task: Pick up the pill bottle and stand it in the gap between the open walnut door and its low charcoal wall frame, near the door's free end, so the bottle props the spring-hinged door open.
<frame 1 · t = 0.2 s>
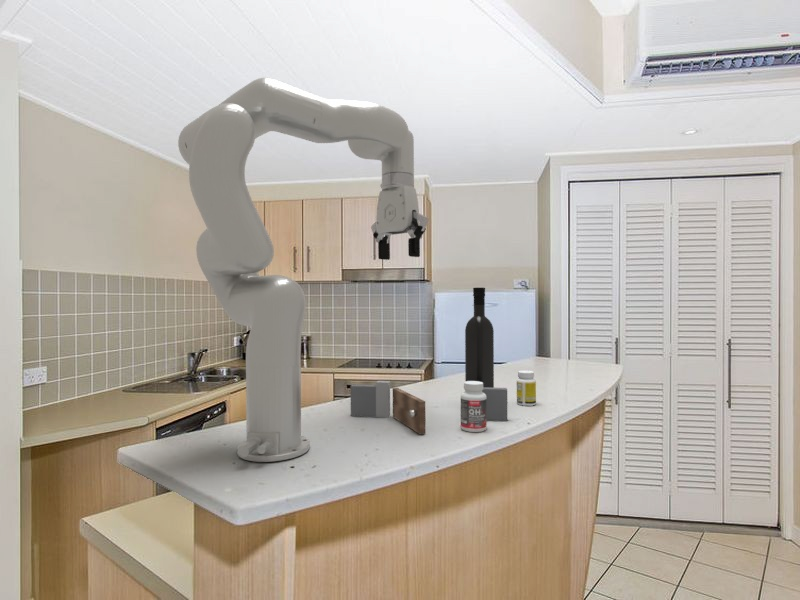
hand: (398, 258, 106), 37 cm above the table, tool pointing down, fingers open, 9 cm apart
door frame: (428, 417, 104), on the table
pill bottle: (473, 430, 95), on the table
wine bottle: (479, 407, 114), on the table
door: (405, 409, 97), point 3 cm above the table, hinge at 60.0°
supplement bottle: (526, 404, 117), on the table
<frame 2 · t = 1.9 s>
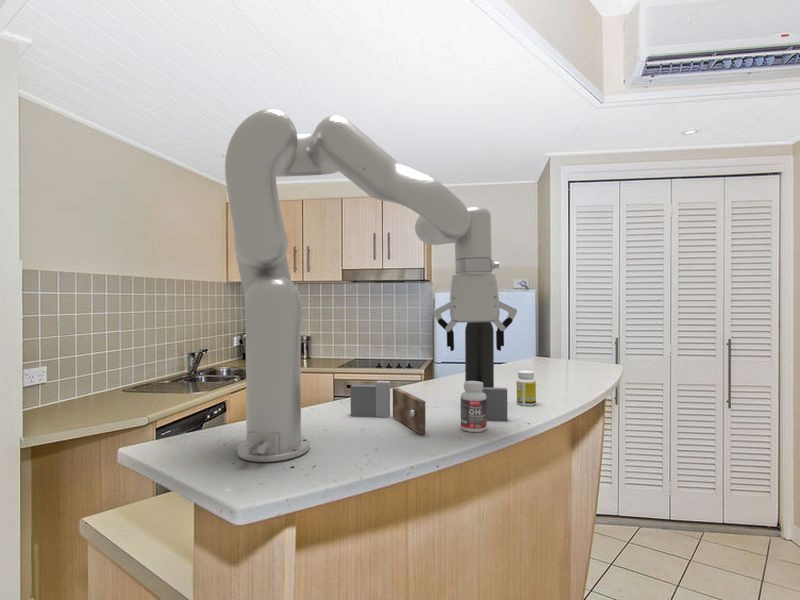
hand: (475, 349, 95), 17 cm above the table, tool pointing down, fingers open, 9 cm apart
nothing on the table moved.
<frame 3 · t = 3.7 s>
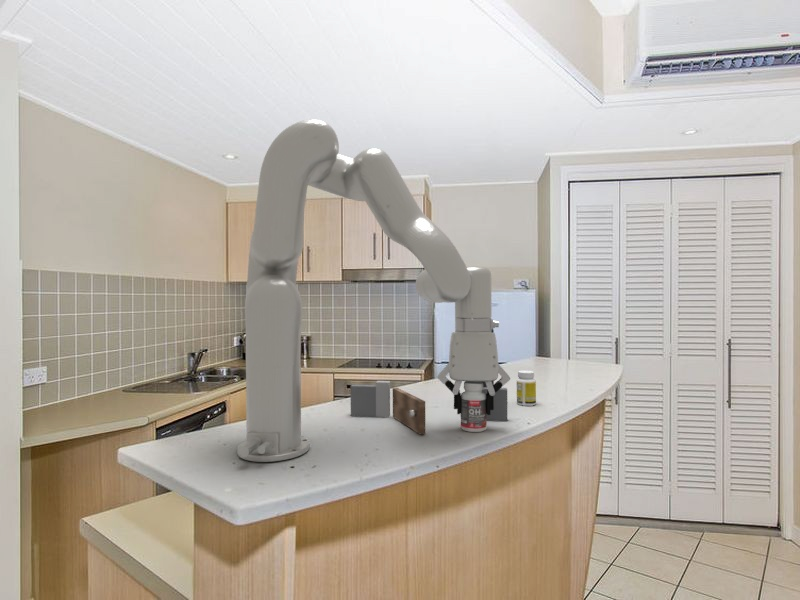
hand: (473, 412, 95), 4 cm above the table, tool pointing down, fingers closed on pill bottle, 5 cm apart
pill bottle: (473, 429, 95), on the table, touching gripper
everything else where it was.
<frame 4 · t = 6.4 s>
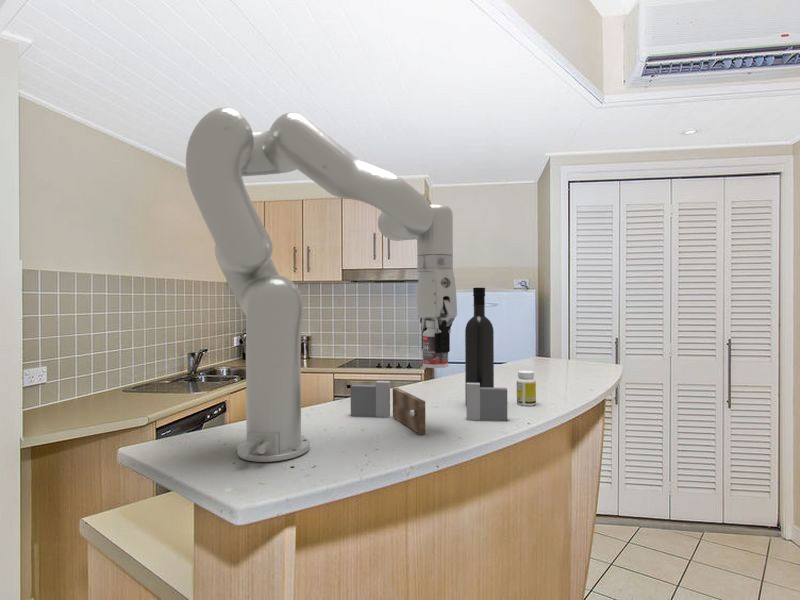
hand: (435, 350, 96), 16 cm above the table, tool pointing down, fingers closed on pill bottle, 5 cm apart
pill bottle: (435, 367, 96), point 13 cm above the table, touching gripper
everything else where it was.
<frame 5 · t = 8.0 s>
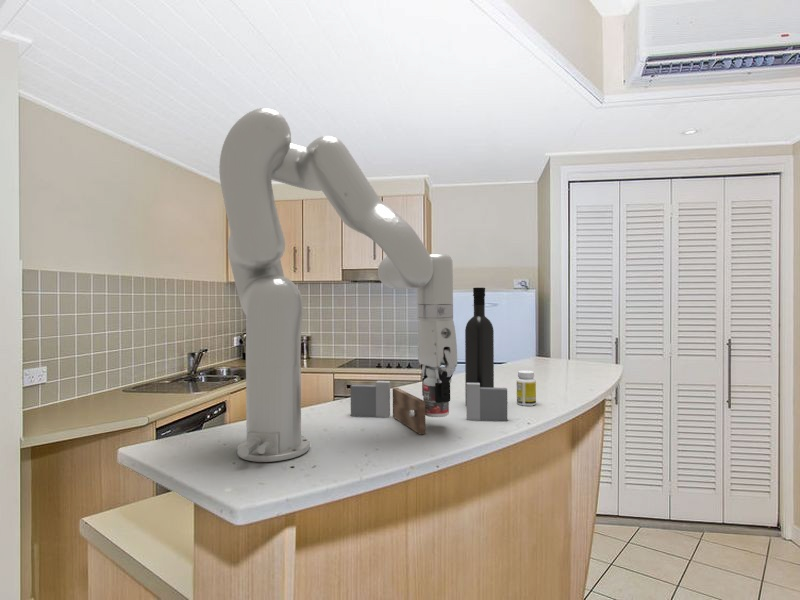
hand: (436, 398, 96), 6 cm above the table, tool pointing down, fingers closed on pill bottle, 5 cm apart
pill bottle: (436, 415, 96), point 3 cm above the table, touching gripper
everything else where it was.
when the fingers open (5 cm above the table, at t = 9.2 s): pill bottle drops 1 cm, on the table.
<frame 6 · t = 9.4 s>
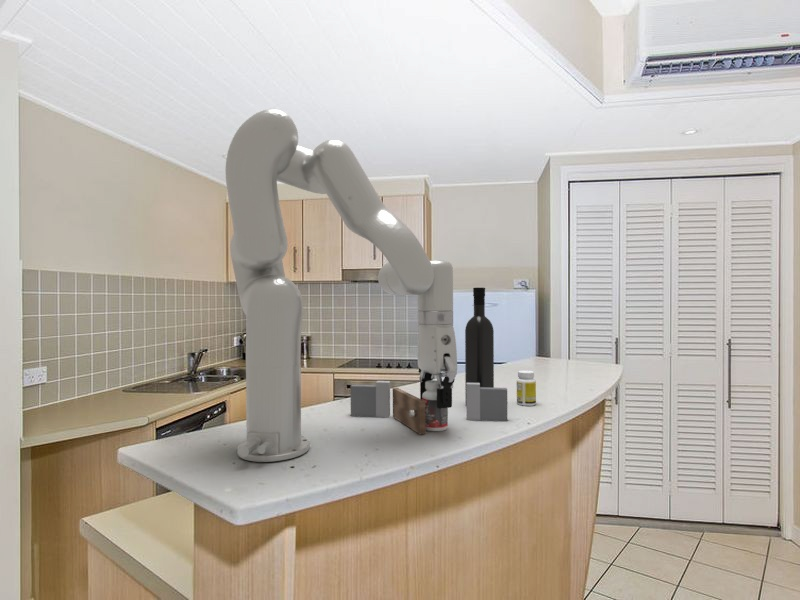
hand: (435, 402, 96), 5 cm above the table, tool pointing down, fingers open, 7 cm apart
pill bottle: (435, 429, 95), on the table
everything else where it was.
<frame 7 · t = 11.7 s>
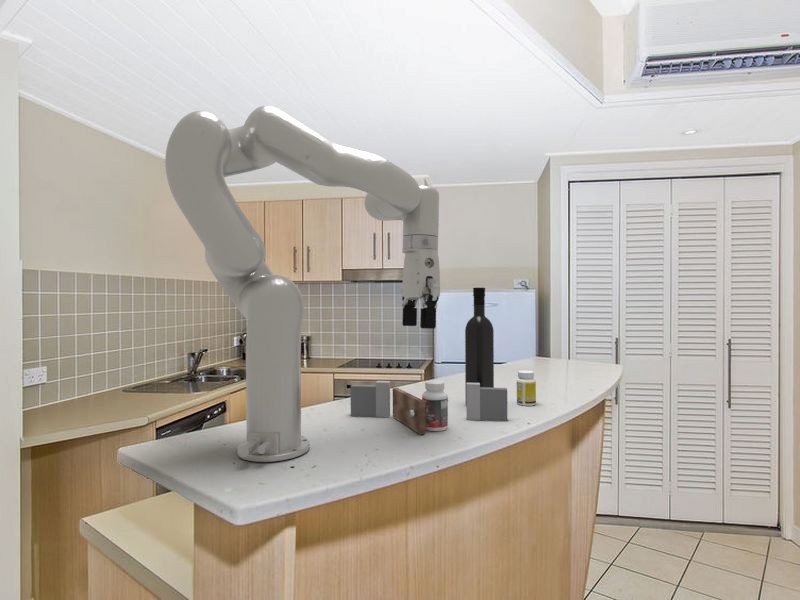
hand: (418, 327, 96), 21 cm above the table, tool pointing down, fingers open, 9 cm apart
nothing on the table moved.
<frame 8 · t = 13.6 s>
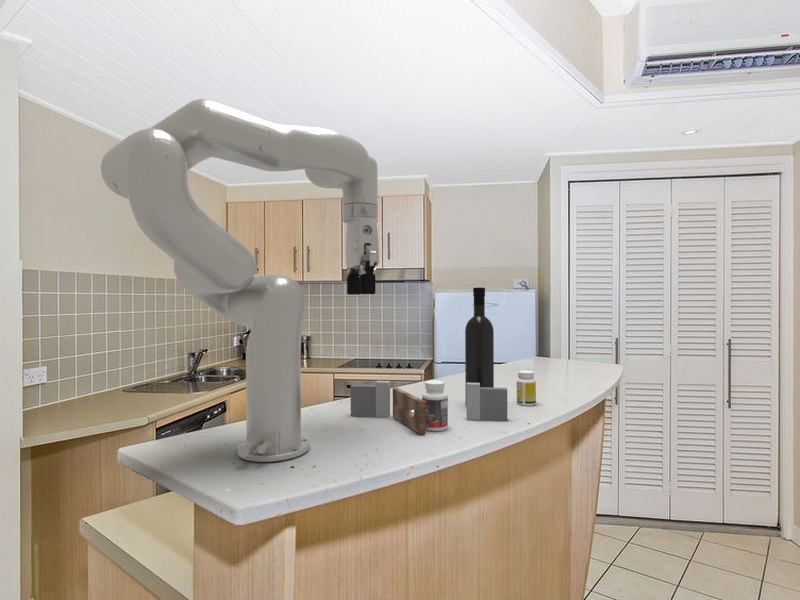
hand: (360, 294, 98), 28 cm above the table, tool pointing down, fingers open, 9 cm apart
nothing on the table moved.
at the end: pill bottle 0.1 cm from the target spot, on the table; pill bottle tilted 0°; door at +60° (first picture: +60°) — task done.
